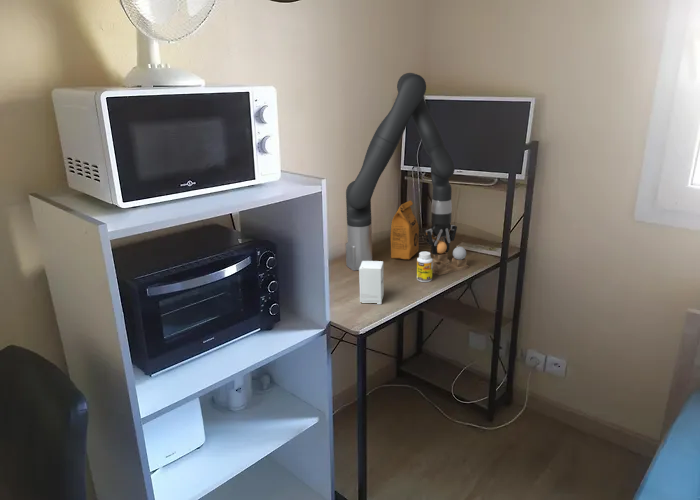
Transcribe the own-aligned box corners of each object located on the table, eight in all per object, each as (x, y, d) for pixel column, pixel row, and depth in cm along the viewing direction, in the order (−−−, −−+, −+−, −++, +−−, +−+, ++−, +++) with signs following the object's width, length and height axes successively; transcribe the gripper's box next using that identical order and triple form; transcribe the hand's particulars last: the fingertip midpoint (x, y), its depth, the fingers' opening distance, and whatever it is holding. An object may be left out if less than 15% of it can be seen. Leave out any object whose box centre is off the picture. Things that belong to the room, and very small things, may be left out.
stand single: (438, 264, 209) (439, 256, 208) (431, 260, 213) (431, 252, 212) (449, 262, 211) (449, 254, 210) (441, 258, 215) (442, 250, 214)
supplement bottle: (415, 282, 194) (415, 255, 191) (418, 276, 199) (418, 250, 196) (430, 283, 192) (431, 256, 189) (433, 277, 197) (433, 251, 194)
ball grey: (458, 262, 202) (458, 250, 200) (449, 258, 206) (450, 246, 204) (468, 260, 204) (469, 247, 202) (460, 256, 208) (461, 244, 207)
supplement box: (381, 304, 177) (381, 268, 173) (359, 303, 178) (358, 268, 174) (384, 295, 184) (383, 260, 180) (362, 294, 185) (361, 260, 181)
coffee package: (422, 252, 222) (423, 200, 215) (409, 262, 213) (409, 208, 205) (400, 249, 227) (400, 198, 220) (387, 258, 217) (386, 205, 210)
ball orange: (438, 256, 208) (439, 243, 206) (431, 252, 212) (431, 240, 211) (449, 254, 210) (449, 241, 208) (441, 250, 214) (441, 238, 213)
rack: (437, 275, 199) (438, 266, 198) (430, 271, 203) (430, 262, 202) (468, 268, 205) (468, 259, 204) (460, 264, 209) (460, 255, 208)
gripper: (431, 215, 199) (430, 259, 205) (462, 210, 205) (461, 252, 211) (420, 211, 206) (419, 253, 211) (450, 205, 212) (449, 247, 217)
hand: (440, 252), depth 211 cm, fingers closed on ball orange, 5 cm apart
